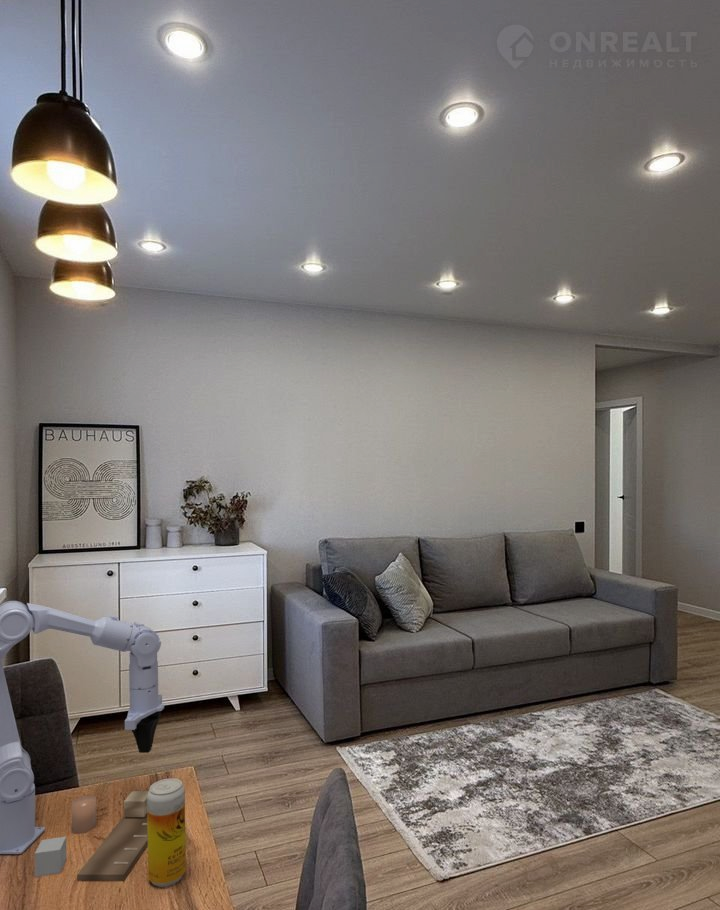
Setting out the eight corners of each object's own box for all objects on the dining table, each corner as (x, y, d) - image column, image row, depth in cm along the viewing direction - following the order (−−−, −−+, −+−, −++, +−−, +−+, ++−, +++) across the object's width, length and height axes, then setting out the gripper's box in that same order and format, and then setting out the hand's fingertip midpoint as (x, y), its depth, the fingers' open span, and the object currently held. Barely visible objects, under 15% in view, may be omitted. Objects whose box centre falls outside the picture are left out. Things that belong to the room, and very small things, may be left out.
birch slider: (124, 817, 119) (123, 801, 119) (132, 806, 123) (132, 791, 123) (152, 817, 119) (152, 801, 119) (160, 806, 123) (160, 791, 123)
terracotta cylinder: (67, 833, 116) (66, 807, 116) (78, 821, 121) (78, 795, 121) (89, 833, 116) (89, 806, 116) (100, 821, 120) (100, 795, 121)
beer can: (174, 890, 99) (173, 796, 100) (140, 886, 100) (139, 793, 101) (192, 867, 105) (191, 778, 105) (160, 864, 106) (158, 776, 107)
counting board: (77, 880, 102) (77, 873, 102) (132, 810, 124) (132, 804, 124) (123, 880, 102) (123, 874, 102) (170, 810, 124) (170, 804, 124)
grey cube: (34, 877, 103) (34, 853, 104) (41, 863, 107) (41, 839, 108) (60, 873, 104) (60, 849, 104) (66, 859, 108) (66, 836, 108)
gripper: (148, 697, 120) (150, 767, 120) (174, 674, 135) (176, 736, 134) (113, 697, 121) (115, 767, 120) (143, 674, 135) (145, 736, 135)
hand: (145, 751), depth 127 cm, fingers closed
